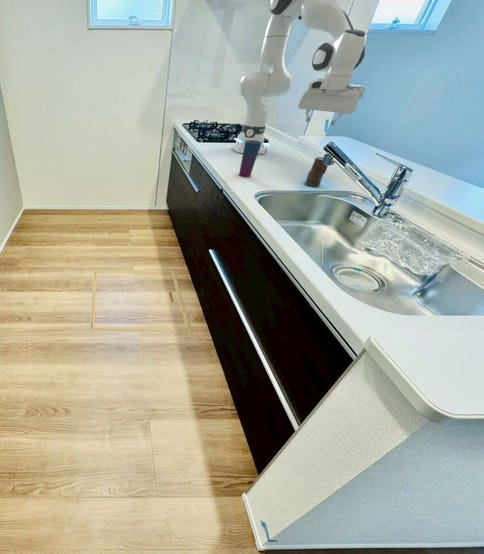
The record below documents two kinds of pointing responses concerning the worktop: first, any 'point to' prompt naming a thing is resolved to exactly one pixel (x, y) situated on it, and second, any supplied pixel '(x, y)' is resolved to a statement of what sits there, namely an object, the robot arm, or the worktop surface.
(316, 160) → the brown short cylinder
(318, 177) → the dark brown cylindrical piece
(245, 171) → the cup
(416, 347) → the worktop surface
